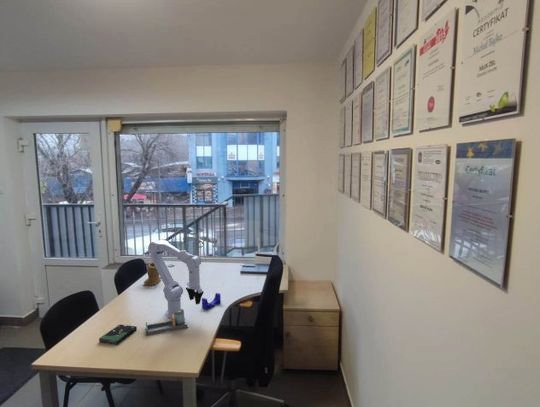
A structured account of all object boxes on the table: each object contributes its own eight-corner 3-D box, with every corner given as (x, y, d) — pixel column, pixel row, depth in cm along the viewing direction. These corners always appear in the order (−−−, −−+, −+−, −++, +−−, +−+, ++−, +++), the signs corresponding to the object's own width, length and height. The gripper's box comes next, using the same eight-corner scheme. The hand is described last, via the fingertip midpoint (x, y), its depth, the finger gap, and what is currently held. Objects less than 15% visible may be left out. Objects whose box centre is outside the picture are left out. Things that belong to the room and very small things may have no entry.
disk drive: (119, 329, 166) (98, 343, 151) (119, 324, 166) (98, 338, 151) (137, 331, 164) (117, 346, 149) (136, 326, 163) (117, 340, 149)
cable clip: (206, 310, 188) (206, 300, 187) (202, 307, 191) (201, 298, 190) (222, 303, 197) (222, 294, 196) (217, 301, 200) (217, 292, 199)
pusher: (172, 323, 170) (171, 314, 169) (173, 322, 170) (173, 314, 170) (173, 328, 164) (173, 319, 164) (175, 327, 165) (175, 318, 164)
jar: (175, 322, 170) (174, 309, 169) (185, 320, 171) (183, 308, 171) (175, 326, 165) (173, 314, 164) (185, 324, 167) (183, 312, 166)
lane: (145, 328, 165) (145, 322, 165) (185, 321, 174) (185, 315, 173) (146, 336, 158) (145, 329, 157) (187, 327, 166) (187, 321, 166)
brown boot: (157, 286, 227) (157, 266, 225) (141, 286, 227) (140, 265, 226) (166, 279, 242) (165, 260, 240) (150, 278, 242) (150, 259, 241)
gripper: (182, 276, 179) (182, 299, 180) (193, 283, 167) (193, 307, 169) (193, 273, 183) (194, 296, 184) (205, 280, 172) (205, 304, 173)
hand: (194, 301), depth 177 cm, fingers open, 7 cm apart
